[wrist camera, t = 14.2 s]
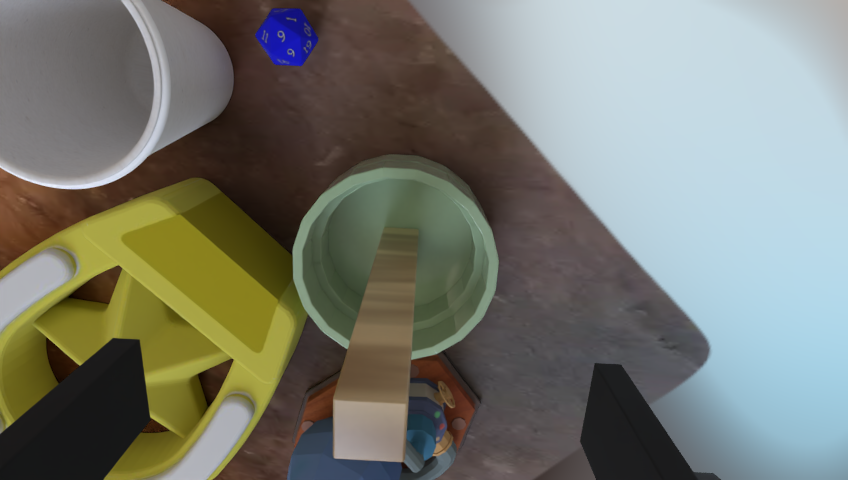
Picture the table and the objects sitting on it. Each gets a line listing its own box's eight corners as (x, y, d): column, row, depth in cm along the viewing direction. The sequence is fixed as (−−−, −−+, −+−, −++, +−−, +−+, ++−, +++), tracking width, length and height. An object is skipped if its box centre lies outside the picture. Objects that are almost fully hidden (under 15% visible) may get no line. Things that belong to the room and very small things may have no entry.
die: (270, 68, 27) (235, 31, 24) (297, 27, 27) (264, -14, 24) (308, 85, 26) (275, 48, 23) (335, 43, 26) (306, 1, 23)
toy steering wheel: (365, 321, 31) (353, 366, 26) (160, 506, 35) (119, 572, 31) (147, 124, 27) (88, 134, 23) (-49, 357, 32) (-133, 406, 27)
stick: (383, 226, 28) (332, 397, 13) (419, 228, 28) (408, 402, 13) (382, 259, 29) (332, 460, 14) (417, 261, 29) (405, 464, 14)
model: (354, 506, 35) (329, 648, 27) (268, 414, 33) (210, 536, 24) (499, 425, 33) (525, 551, 24) (419, 320, 31) (415, 417, 22)
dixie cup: (249, 167, 28) (157, 213, 19) (97, 133, 28) (-78, 161, 18) (269, 7, 26) (175, -35, 16) (102, -34, 25) (-97, -103, 16)
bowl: (313, 147, 28) (290, 161, 23) (495, 158, 28) (509, 175, 23) (315, 312, 31) (294, 355, 26) (478, 321, 31) (487, 366, 26)
